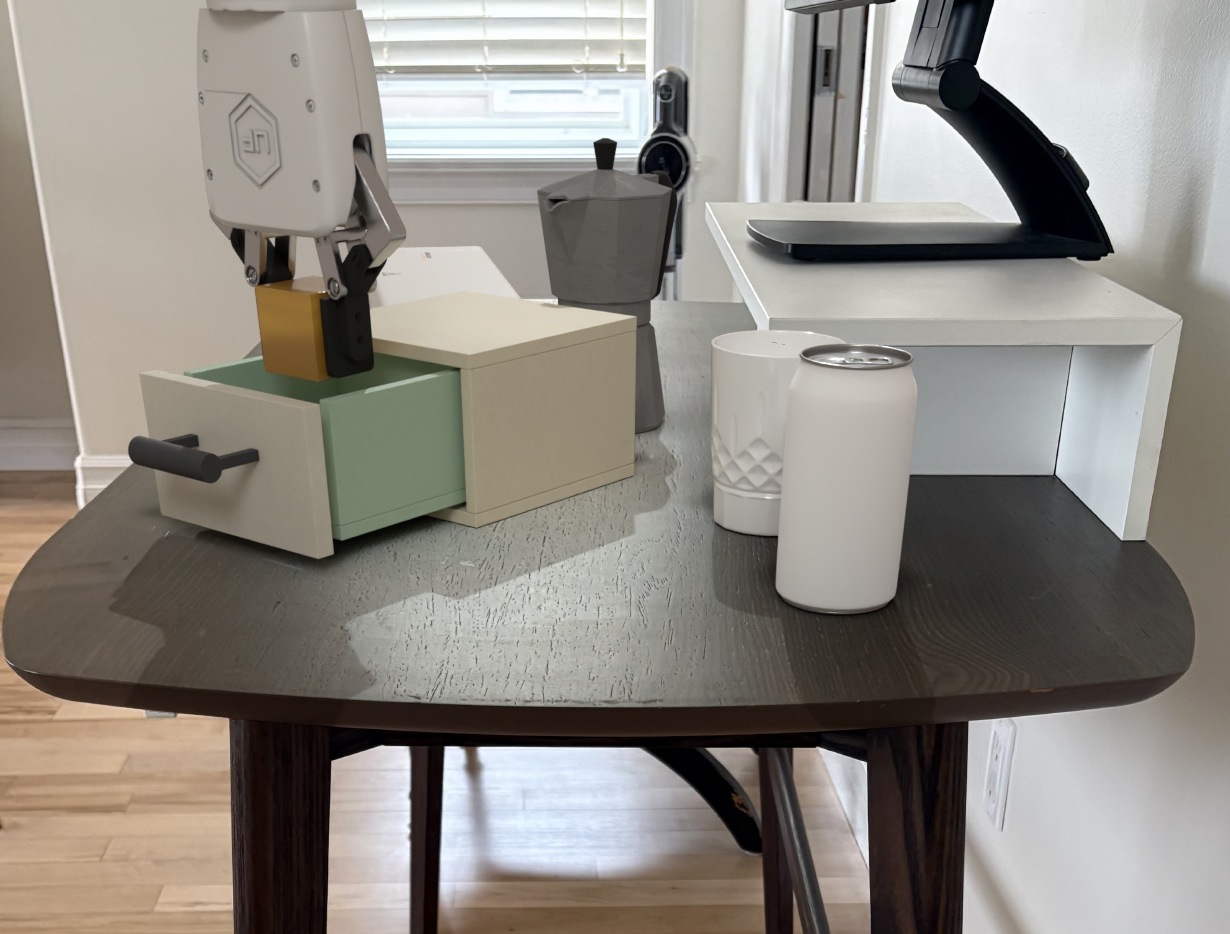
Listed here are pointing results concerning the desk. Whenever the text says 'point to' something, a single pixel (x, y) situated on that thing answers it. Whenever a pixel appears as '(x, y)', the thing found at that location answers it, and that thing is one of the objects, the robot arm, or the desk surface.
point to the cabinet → (525, 394)
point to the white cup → (752, 423)
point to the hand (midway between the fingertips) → (318, 363)
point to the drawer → (303, 449)
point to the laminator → (437, 275)
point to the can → (845, 478)
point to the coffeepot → (613, 255)
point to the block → (293, 327)
